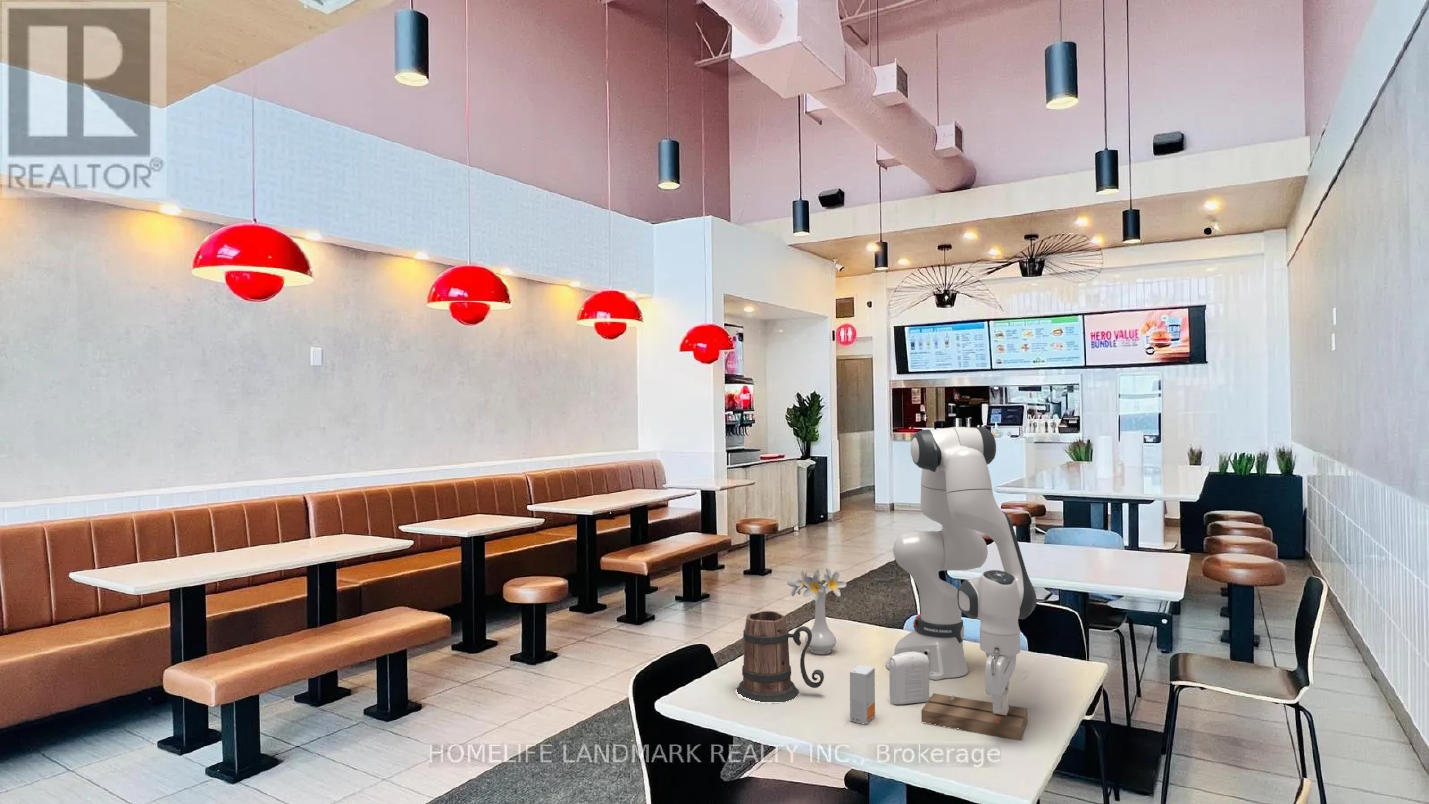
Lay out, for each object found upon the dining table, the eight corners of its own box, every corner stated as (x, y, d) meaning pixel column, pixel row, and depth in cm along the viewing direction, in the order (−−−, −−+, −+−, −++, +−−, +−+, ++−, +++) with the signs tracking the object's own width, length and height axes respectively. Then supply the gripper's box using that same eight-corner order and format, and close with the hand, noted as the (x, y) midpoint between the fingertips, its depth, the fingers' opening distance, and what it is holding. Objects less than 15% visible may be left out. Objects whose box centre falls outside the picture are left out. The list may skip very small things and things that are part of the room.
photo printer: (923, 696, 204) (923, 648, 204) (932, 702, 200) (931, 653, 200) (887, 700, 202) (886, 651, 202) (894, 706, 198) (894, 657, 198)
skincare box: (866, 725, 187) (865, 674, 187) (849, 722, 189) (848, 671, 189) (876, 716, 192) (875, 667, 192) (859, 713, 194) (858, 664, 194)
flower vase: (797, 642, 251) (795, 563, 251) (853, 649, 243) (852, 567, 243) (782, 654, 240) (780, 571, 240) (841, 662, 232) (840, 576, 231)
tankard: (727, 700, 203) (726, 622, 203) (743, 678, 220) (742, 606, 220) (819, 709, 197) (817, 628, 197) (828, 685, 213) (827, 610, 213)
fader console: (921, 722, 188) (921, 709, 188) (933, 705, 198) (933, 692, 198) (1020, 740, 177) (1020, 726, 177) (1027, 721, 188) (1027, 707, 188)
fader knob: (993, 720, 184) (992, 693, 184) (995, 715, 187) (995, 688, 187) (1006, 722, 182) (1006, 695, 182) (1009, 717, 186) (1008, 690, 186)
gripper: (1007, 657, 174) (1008, 720, 174) (1020, 632, 192) (1021, 689, 192) (977, 653, 177) (978, 715, 177) (993, 629, 195) (993, 685, 195)
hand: (1000, 702), depth 185 cm, fingers open, 8 cm apart
